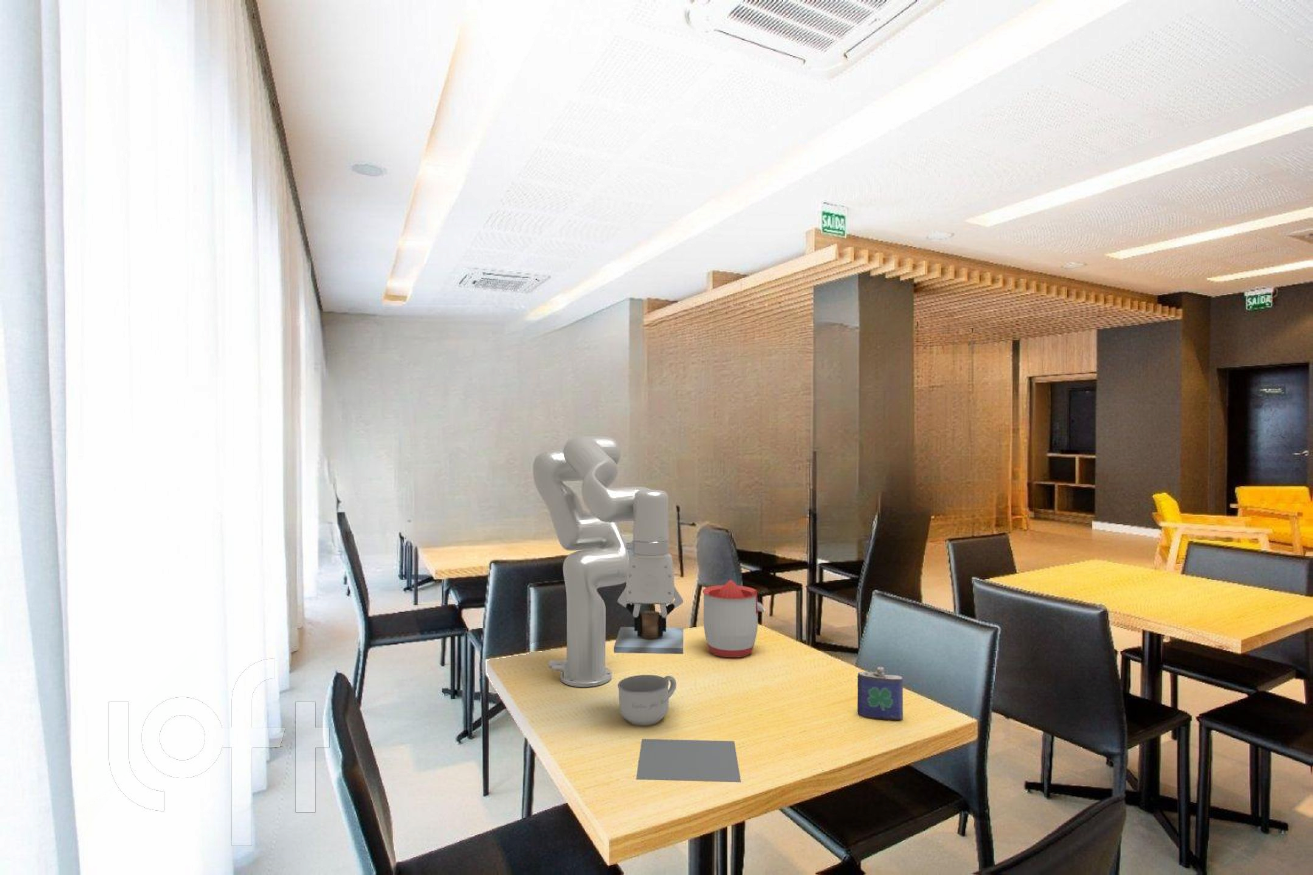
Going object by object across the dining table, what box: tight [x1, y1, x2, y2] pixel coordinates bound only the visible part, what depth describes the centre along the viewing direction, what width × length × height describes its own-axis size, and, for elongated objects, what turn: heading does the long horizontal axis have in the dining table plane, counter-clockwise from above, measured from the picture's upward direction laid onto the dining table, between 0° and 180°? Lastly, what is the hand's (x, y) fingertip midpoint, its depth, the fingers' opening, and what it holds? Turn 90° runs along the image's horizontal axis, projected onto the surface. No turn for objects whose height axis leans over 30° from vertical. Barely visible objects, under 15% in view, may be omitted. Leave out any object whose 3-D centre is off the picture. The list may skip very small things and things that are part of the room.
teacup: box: [617, 674, 677, 726], centre depth 136 cm, size 14×11×8 cm
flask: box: [857, 666, 904, 722], centre depth 137 cm, size 9×3×11 cm, turn 74°
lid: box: [613, 610, 684, 655], centre depth 136 cm, size 14×14×6 cm
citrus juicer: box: [702, 579, 766, 658], centre depth 179 cm, size 16×17×20 cm
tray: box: [635, 738, 742, 783], centre depth 118 cm, size 18×15×1 cm
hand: (650, 633), depth 136 cm, fingers closed on lid, 4 cm apart
